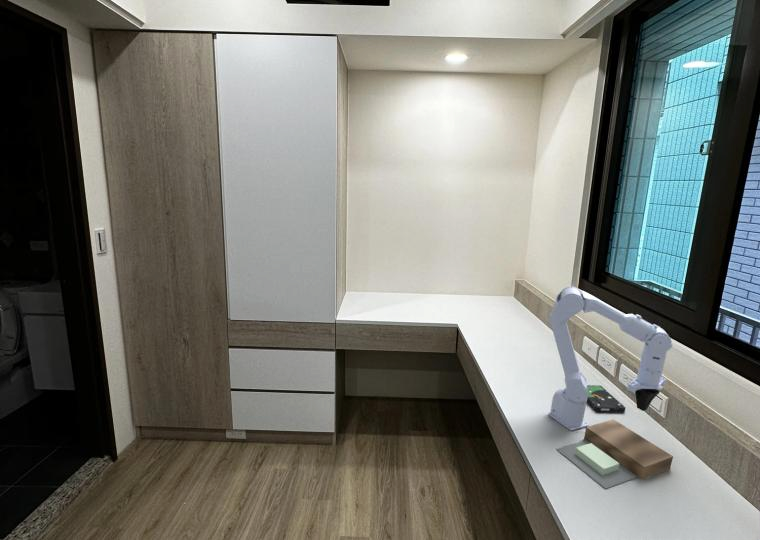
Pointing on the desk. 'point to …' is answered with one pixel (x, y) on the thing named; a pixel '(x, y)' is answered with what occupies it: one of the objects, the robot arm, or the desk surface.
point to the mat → (603, 480)
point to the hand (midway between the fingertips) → (641, 408)
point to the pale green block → (597, 459)
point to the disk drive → (603, 400)
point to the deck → (628, 449)
